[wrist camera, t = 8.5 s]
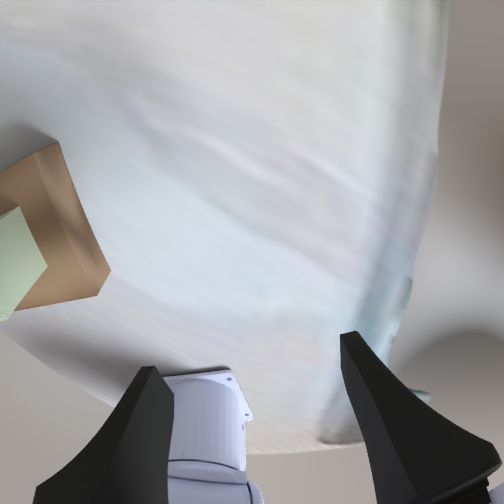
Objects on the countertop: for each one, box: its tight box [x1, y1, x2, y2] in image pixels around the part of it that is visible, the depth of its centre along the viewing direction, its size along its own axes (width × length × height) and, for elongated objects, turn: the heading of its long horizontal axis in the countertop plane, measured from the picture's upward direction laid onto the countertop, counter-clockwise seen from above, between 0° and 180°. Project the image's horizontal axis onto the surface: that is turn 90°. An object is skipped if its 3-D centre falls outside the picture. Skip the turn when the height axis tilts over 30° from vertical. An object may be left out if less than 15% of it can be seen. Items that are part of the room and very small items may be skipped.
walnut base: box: [0, 142, 111, 311], centre depth 18 cm, size 10×10×3 cm
